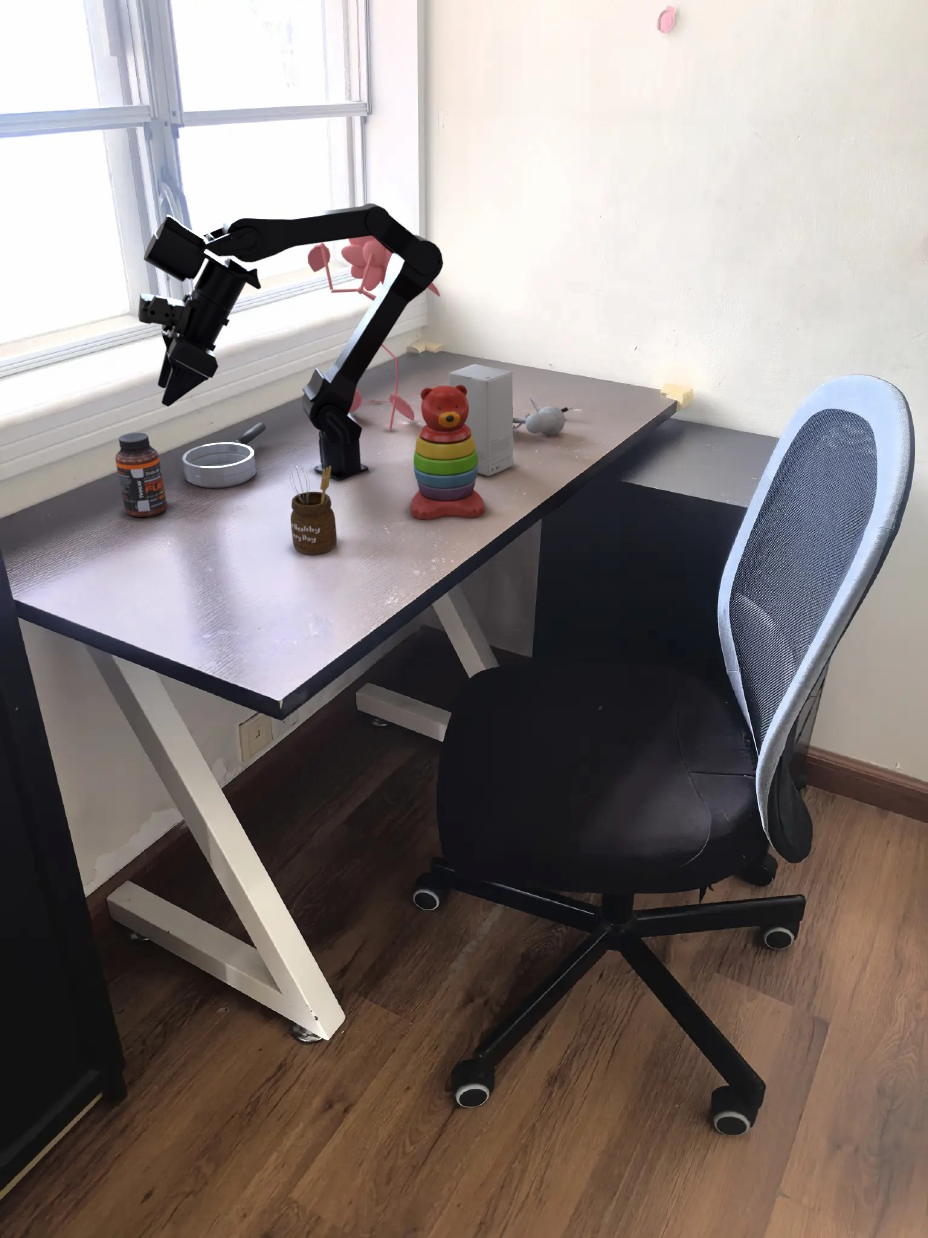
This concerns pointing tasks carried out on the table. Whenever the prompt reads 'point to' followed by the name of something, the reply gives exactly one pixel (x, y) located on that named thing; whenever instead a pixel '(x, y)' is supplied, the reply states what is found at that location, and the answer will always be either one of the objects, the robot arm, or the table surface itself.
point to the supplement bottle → (140, 476)
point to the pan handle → (248, 436)
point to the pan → (219, 465)
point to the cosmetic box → (489, 414)
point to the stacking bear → (445, 457)
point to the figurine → (365, 292)
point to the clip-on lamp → (543, 420)
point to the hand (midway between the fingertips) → (162, 395)
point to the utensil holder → (313, 519)
